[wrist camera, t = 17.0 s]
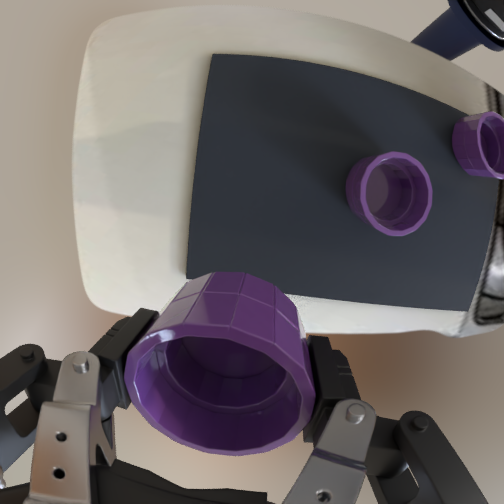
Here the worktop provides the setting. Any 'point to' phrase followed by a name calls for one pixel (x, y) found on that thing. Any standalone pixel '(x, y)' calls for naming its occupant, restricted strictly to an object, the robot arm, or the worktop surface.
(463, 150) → the purple hollow cylinder
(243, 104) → the mat
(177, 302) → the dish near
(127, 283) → the worktop surface
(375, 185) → the purple hollow cup
